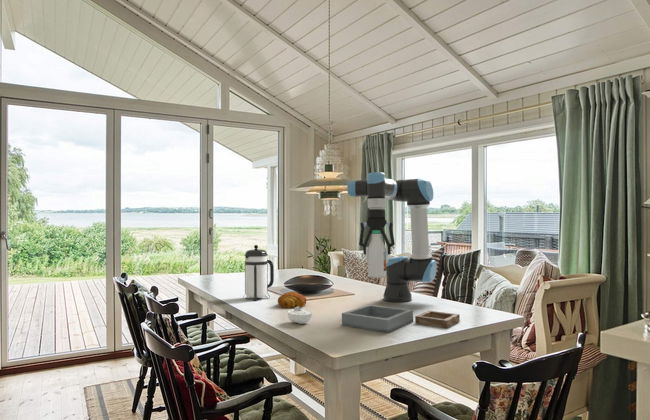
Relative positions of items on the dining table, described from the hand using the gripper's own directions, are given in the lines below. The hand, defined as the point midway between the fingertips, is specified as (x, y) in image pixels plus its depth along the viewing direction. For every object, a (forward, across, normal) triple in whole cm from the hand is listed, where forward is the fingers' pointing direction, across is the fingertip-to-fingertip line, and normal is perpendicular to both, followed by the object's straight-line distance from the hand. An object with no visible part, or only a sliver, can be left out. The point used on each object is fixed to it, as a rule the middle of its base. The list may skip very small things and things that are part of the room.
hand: (377, 262), depth 191 cm
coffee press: (+26, -72, +48) cm, 90 cm away
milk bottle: (+6, 0, 0) cm, 6 cm away
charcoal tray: (+26, 0, 0) cm, 26 cm away
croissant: (+26, -46, +31) cm, 62 cm away
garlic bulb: (+26, -33, -4) cm, 42 cm away
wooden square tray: (+26, +25, +6) cm, 36 cm away
